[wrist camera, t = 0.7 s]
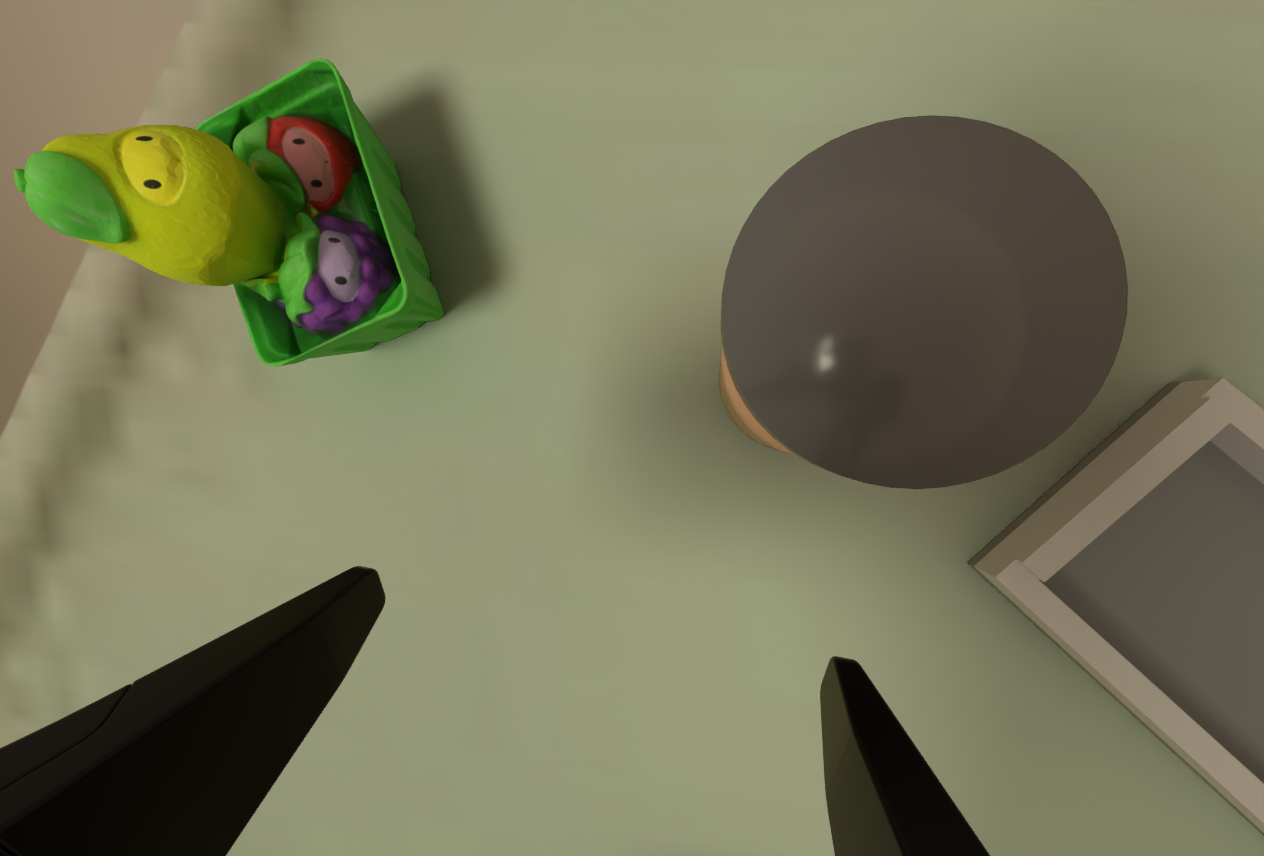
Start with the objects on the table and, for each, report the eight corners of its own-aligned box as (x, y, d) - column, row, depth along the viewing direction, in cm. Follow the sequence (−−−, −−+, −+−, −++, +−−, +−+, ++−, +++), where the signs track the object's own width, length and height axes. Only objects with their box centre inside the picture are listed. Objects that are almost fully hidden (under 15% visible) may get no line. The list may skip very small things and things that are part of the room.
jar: (882, 440, 21) (1163, 458, 8) (729, 463, 22) (752, 512, 9) (856, 292, 21) (1087, 68, 8) (706, 322, 22) (695, 169, 9)
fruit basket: (476, 330, 24) (268, 243, 13) (331, 391, 25) (30, 362, 14) (408, 126, 25) (154, -125, 13) (270, 197, 26) (-63, 23, 15)
